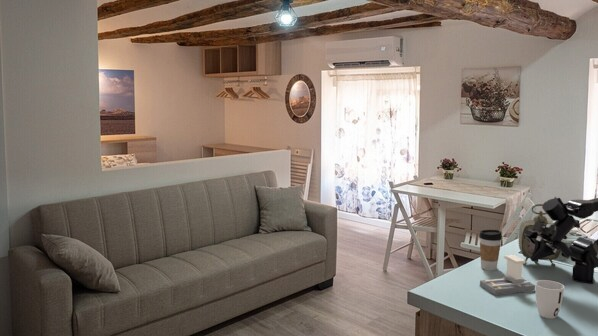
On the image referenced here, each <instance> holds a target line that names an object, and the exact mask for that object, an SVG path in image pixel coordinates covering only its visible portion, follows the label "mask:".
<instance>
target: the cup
mask: <svg viewBox="0 0 598 336" xmlns="http://www.w3.org/2000/svg"><path fill="white" fill-rule="evenodd" d="M534 285H535V301H536V308H537V312H538V314H539V316H540V317H542V318H546V319H556V318H557V317H558V315H559V312H560V310H561V306H562V302H563V298H564V293H565V292H564V291H565V285H564V284H562V283H560V282H558V281H554V280H547V279H540V280H537V281H535V284H534Z"/></svg>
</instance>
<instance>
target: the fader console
mask: <svg viewBox="0 0 598 336" xmlns="http://www.w3.org/2000/svg"><path fill="white" fill-rule="evenodd" d="M521 278H523V276H521ZM479 286H480V287H481V288H483V289H485V290H486V291H487V292H489V293H490V294H492V295H494V296H498V295H507V294H508V295H509V293H510V294H517V292H519V293H526V292H525V291H528V292H534V291H533V290H535V291H536V287H535V284H534V283H532V282H531V281H530V280H526V279H524V282H522V283H513V282H511V281H509V280H507V279H505V278H504V277H502V278H501V277H500V278H491V279H481V280H479Z"/></svg>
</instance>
